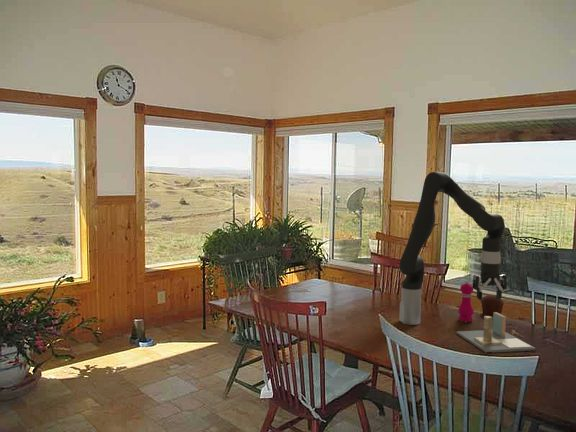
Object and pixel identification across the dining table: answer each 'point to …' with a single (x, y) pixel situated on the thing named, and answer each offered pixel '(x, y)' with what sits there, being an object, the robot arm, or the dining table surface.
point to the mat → (491, 348)
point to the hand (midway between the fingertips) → (489, 299)
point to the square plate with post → (487, 333)
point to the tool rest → (513, 343)
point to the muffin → (491, 305)
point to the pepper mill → (466, 303)
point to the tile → (499, 324)
